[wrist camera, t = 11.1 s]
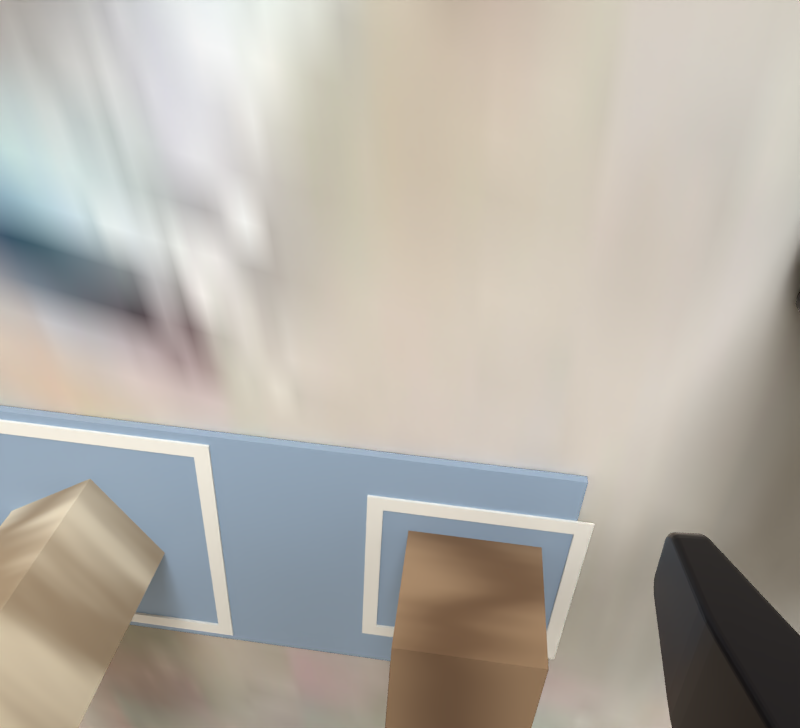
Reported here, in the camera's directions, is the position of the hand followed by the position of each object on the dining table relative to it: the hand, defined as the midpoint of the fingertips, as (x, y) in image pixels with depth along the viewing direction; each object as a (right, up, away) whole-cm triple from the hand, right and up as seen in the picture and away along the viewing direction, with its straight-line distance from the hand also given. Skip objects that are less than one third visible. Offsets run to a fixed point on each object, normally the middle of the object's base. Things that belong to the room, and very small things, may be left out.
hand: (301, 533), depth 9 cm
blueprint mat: (-5, -5, +20) cm, 21 cm away
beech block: (-11, -5, +20) cm, 24 cm away
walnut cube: (+4, -6, +19) cm, 21 cm away
